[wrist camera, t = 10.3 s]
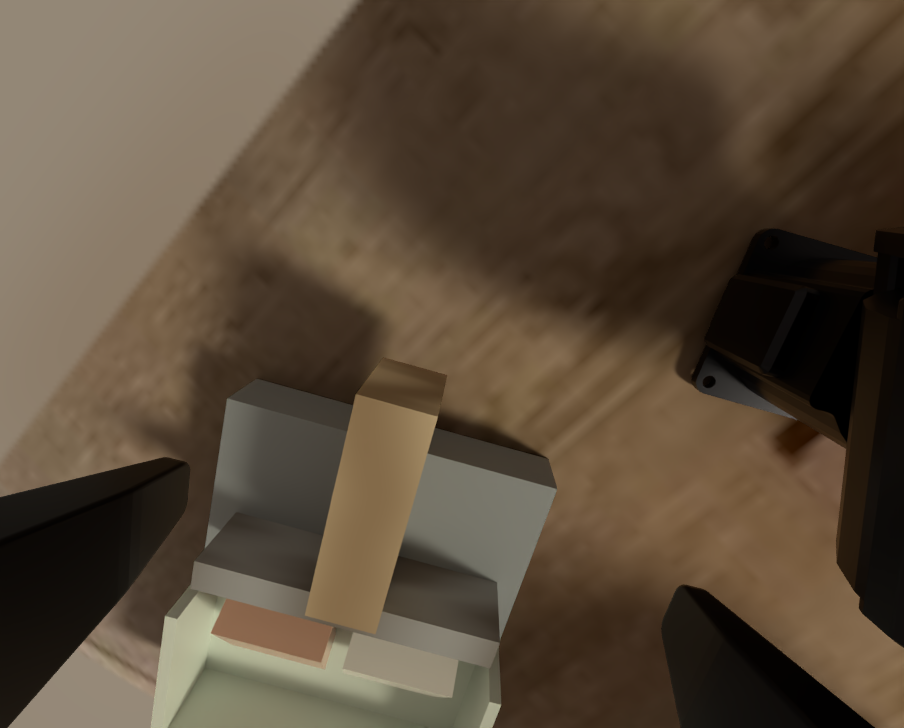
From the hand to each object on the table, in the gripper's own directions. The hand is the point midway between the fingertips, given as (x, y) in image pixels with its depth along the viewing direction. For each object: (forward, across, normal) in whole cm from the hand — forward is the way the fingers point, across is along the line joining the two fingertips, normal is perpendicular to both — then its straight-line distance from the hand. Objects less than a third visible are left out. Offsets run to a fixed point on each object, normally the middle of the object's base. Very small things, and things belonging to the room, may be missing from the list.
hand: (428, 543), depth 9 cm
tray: (+12, +2, +16) cm, 20 cm away
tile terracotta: (+10, +5, +13) cm, 17 cm away
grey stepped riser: (+12, +2, +8) cm, 14 cm away
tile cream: (+10, 0, +13) cm, 16 cm away
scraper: (+9, +2, +4) cm, 10 cm away
